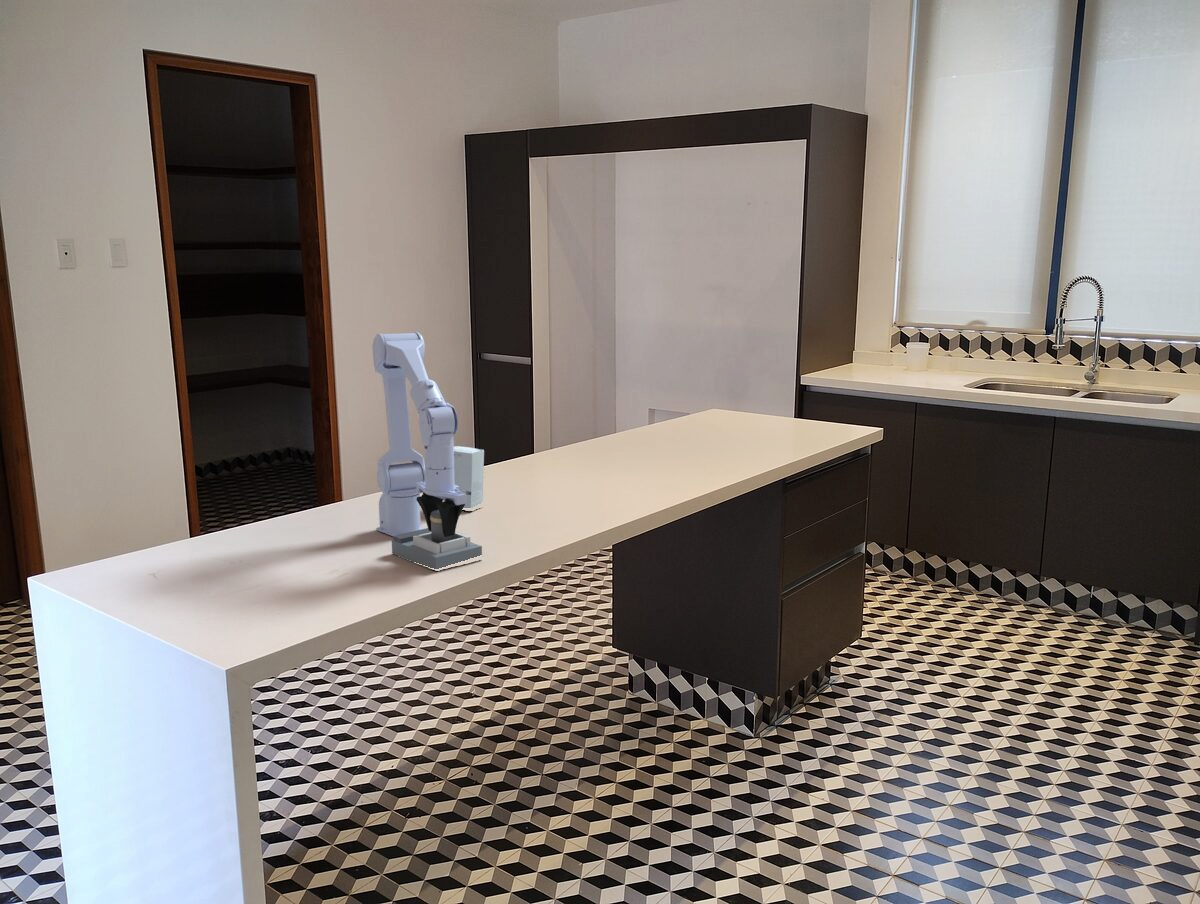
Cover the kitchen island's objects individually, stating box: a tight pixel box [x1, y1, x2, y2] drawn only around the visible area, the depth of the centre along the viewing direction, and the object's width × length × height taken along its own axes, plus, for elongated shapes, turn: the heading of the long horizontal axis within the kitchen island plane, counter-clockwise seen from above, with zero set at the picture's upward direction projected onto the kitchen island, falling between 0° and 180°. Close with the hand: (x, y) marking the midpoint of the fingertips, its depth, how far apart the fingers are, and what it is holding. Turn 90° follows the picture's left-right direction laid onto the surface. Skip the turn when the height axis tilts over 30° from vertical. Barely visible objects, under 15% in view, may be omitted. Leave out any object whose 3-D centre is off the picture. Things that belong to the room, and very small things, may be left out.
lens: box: [430, 510, 456, 544], centre depth 195 cm, size 5×5×6 cm
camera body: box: [391, 527, 483, 569], centre depth 197 cm, size 16×11×5 cm
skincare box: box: [443, 445, 485, 508], centre depth 234 cm, size 8×6×15 cm
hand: (441, 532), depth 195 cm, fingers closed on lens, 5 cm apart
